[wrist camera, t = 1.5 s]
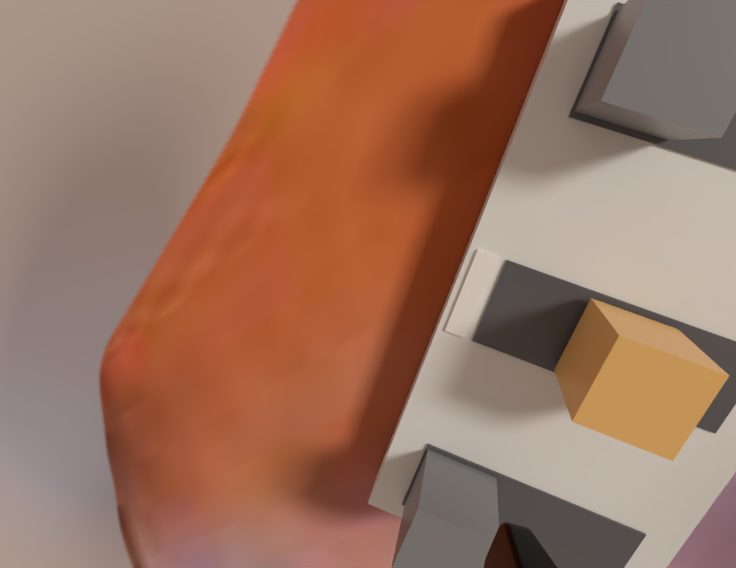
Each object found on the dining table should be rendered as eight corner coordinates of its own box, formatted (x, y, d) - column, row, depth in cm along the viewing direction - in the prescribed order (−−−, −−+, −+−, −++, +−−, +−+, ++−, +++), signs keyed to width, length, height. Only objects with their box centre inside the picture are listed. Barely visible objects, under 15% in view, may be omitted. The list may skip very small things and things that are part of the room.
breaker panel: (950, 88, 14) (1217, 54, 9) (616, 578, 22) (660, 714, 16) (570, -17, 16) (616, -99, 11) (376, 474, 23) (346, 570, 18)
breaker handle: (677, 328, 16) (729, 375, 13) (635, 400, 17) (672, 461, 14) (590, 297, 16) (619, 335, 13) (554, 370, 17) (572, 421, 14)
